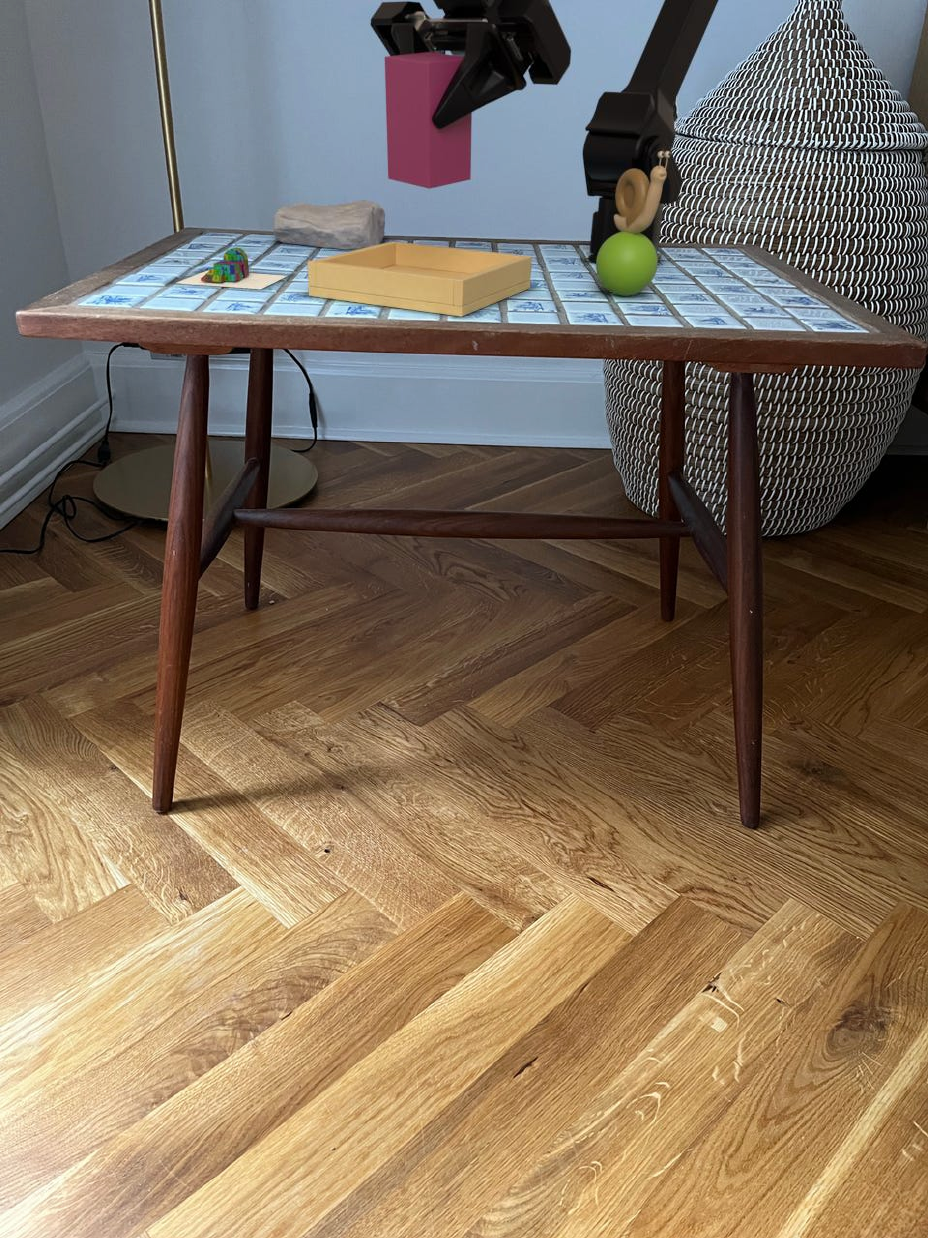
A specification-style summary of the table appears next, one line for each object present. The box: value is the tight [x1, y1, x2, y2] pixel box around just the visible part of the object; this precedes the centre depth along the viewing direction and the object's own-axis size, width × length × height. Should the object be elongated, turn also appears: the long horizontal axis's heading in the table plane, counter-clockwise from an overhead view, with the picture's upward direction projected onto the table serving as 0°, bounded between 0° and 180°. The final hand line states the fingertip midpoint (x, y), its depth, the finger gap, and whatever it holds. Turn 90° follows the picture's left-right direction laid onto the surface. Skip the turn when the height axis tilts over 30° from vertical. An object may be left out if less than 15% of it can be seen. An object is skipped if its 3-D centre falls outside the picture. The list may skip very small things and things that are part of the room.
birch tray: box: [307, 240, 533, 318], centre depth 84 cm, size 15×15×3 cm
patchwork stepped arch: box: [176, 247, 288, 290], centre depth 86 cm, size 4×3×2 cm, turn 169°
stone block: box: [273, 200, 386, 251], centre depth 107 cm, size 12×5×10 cm
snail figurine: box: [595, 151, 671, 297], centre depth 83 cm, size 5×6×12 cm
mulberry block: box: [384, 52, 473, 189], centre depth 78 cm, size 5×5×9 cm
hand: (413, 122), depth 77 cm, fingers closed on mulberry block, 5 cm apart
